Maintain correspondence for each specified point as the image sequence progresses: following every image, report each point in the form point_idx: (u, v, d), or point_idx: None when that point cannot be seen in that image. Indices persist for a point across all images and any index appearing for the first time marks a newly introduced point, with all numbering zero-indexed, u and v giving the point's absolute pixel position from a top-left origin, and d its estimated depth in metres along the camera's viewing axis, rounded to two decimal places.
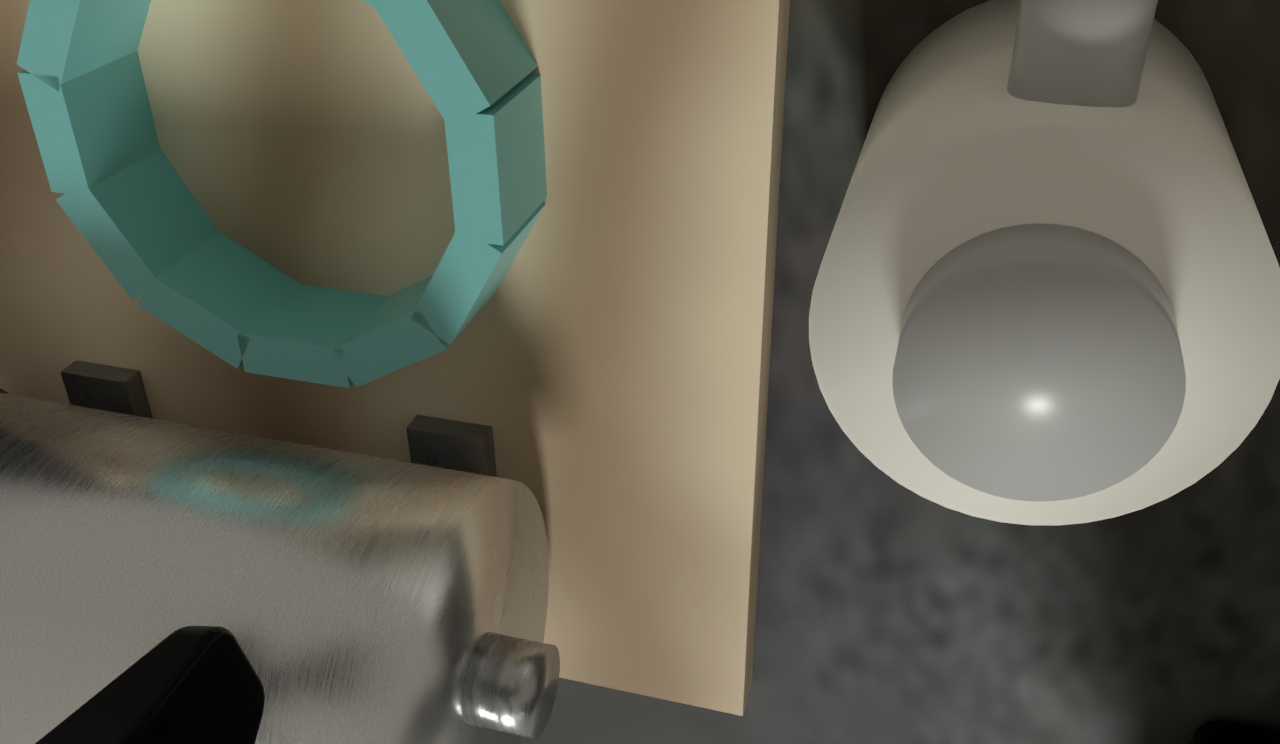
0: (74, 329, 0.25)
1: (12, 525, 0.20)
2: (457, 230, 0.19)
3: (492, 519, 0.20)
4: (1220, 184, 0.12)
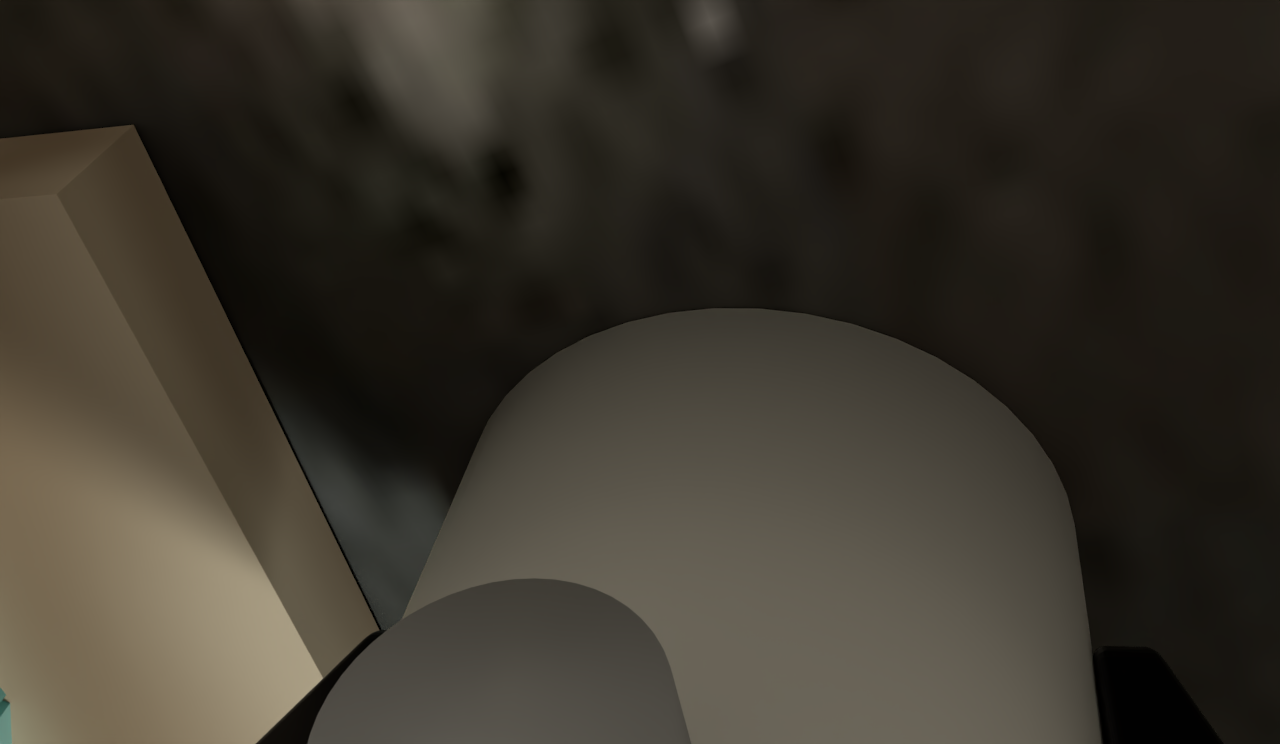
0: None
1: None
2: None
3: None
4: None
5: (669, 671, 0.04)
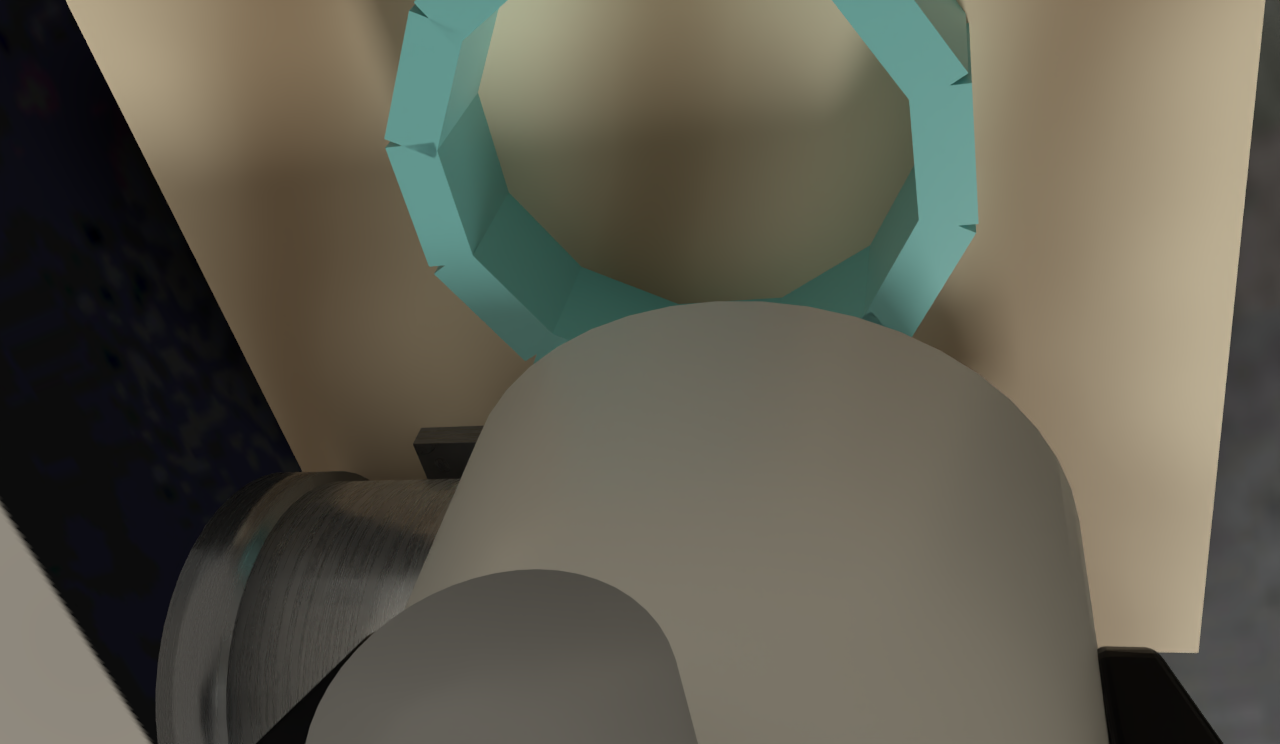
0: (417, 397, 0.23)
1: None
2: (918, 218, 0.17)
3: None
4: None
5: (674, 662, 0.04)
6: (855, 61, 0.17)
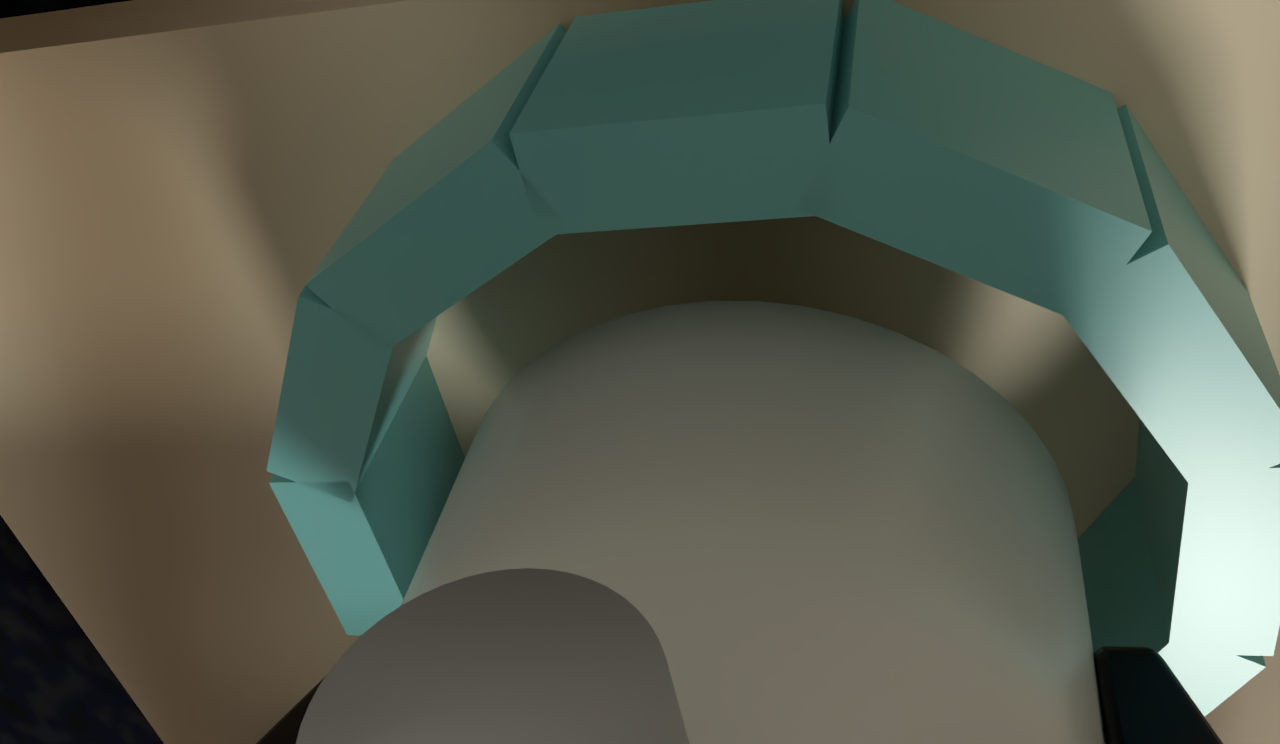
0: None
1: None
2: (1163, 634, 0.10)
3: None
4: None
5: (666, 660, 0.04)
6: (1046, 348, 0.11)
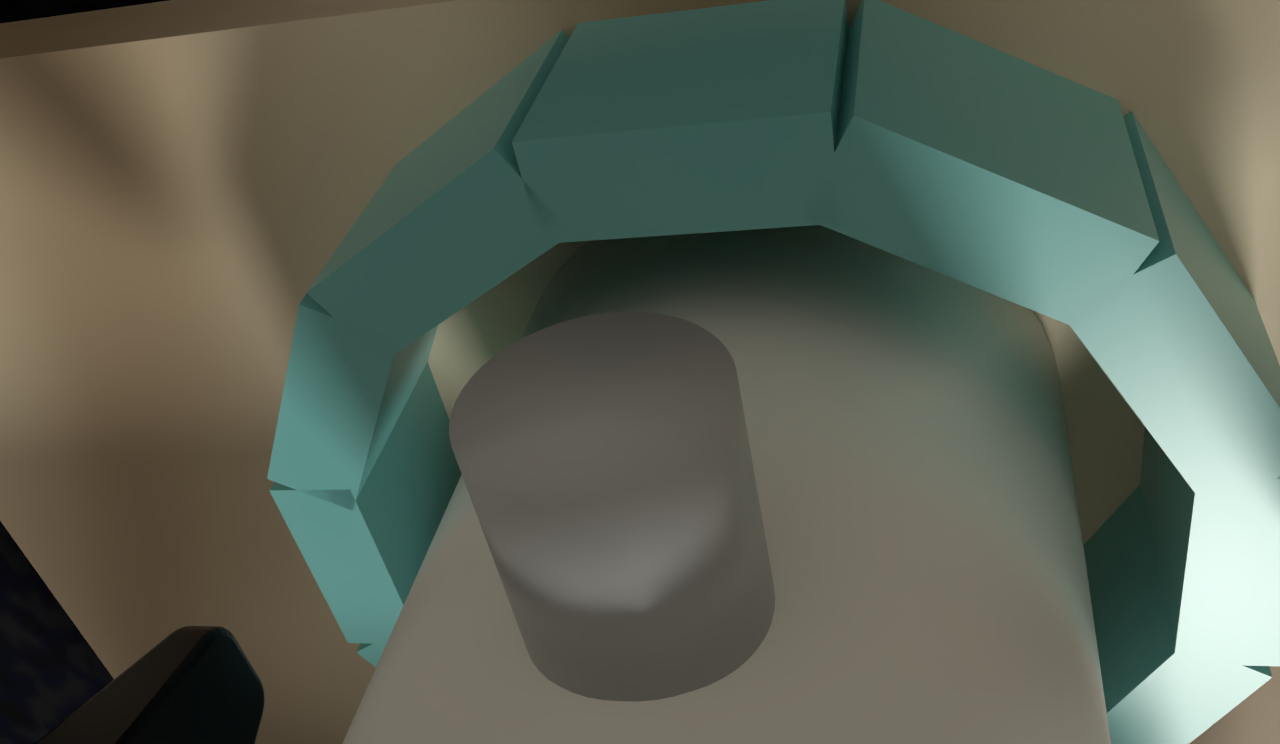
0: (344, 718, 0.16)
1: None
2: (1169, 644, 0.10)
3: None
4: None
5: (732, 365, 0.06)
6: None
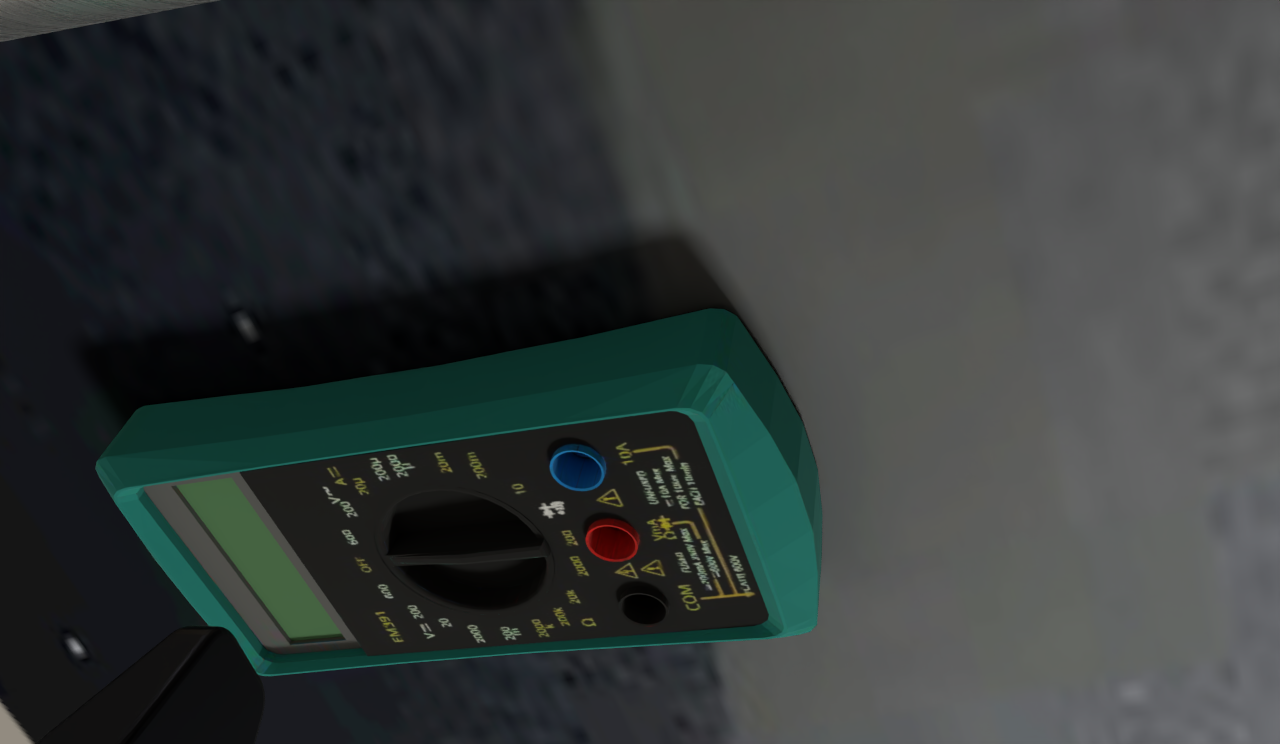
0: None
1: None
2: None
3: None
4: None
5: None
6: None
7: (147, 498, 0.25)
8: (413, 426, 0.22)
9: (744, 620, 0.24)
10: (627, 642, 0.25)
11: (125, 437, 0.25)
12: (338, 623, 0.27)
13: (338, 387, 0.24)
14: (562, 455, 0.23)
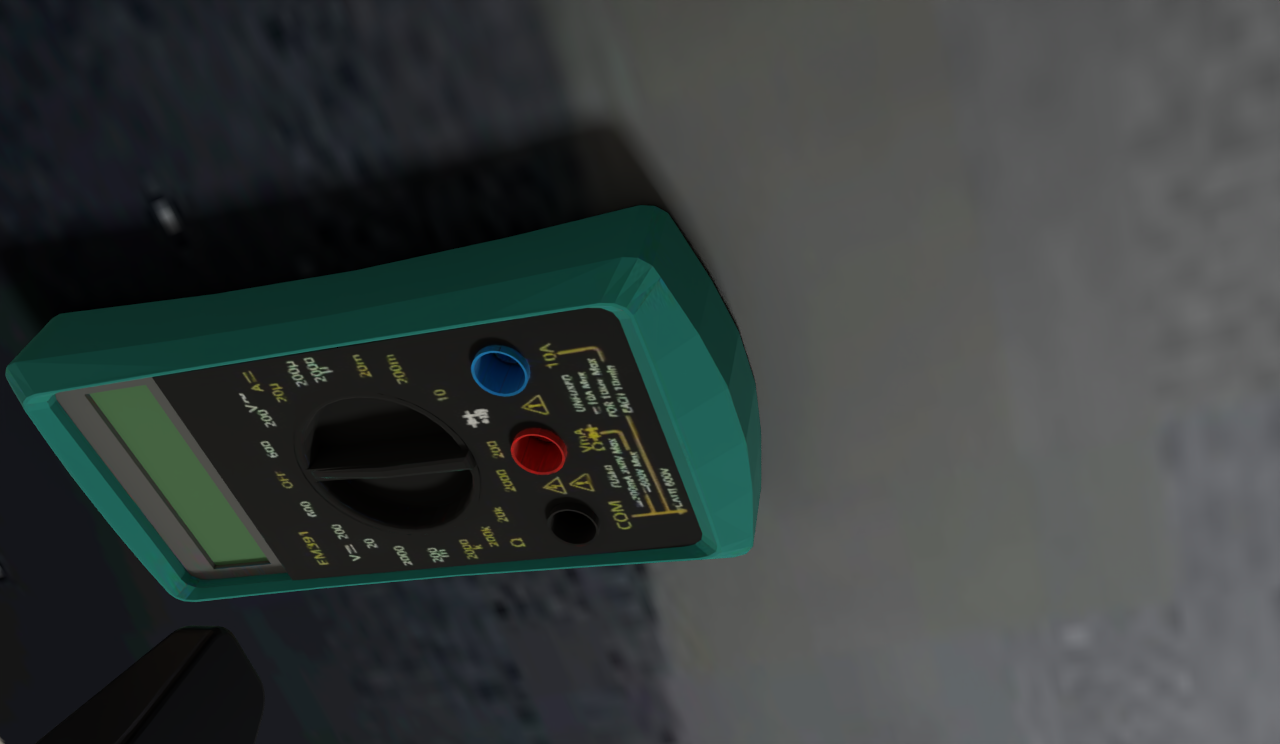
0: None
1: None
2: None
3: None
4: None
5: None
6: None
7: (59, 407, 0.24)
8: (330, 327, 0.22)
9: (678, 540, 0.23)
10: (557, 564, 0.24)
11: (37, 343, 0.24)
12: (262, 545, 0.26)
13: (258, 291, 0.23)
14: (486, 360, 0.22)
